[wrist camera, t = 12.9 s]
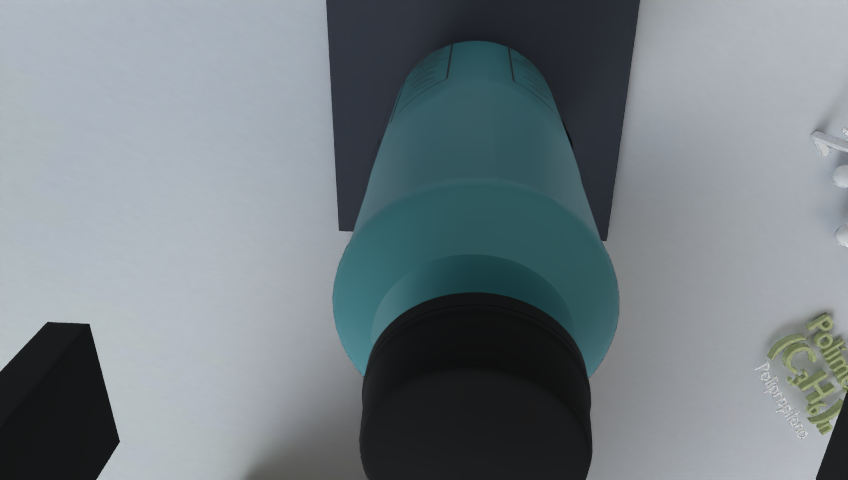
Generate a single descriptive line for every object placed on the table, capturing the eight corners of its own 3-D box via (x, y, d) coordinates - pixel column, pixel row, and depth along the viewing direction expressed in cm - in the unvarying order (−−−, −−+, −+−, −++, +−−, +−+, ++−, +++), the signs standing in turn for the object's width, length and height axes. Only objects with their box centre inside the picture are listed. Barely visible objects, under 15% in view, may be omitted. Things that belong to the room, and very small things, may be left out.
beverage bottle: (377, 48, 28) (201, 340, 11) (543, 6, 27) (657, 257, 9) (418, 194, 31) (334, 620, 13) (570, 162, 30) (698, 583, 12)
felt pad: (325, -55, 27) (323, -54, 27) (645, -51, 26) (647, -50, 26) (340, 227, 33) (338, 231, 32) (605, 237, 32) (606, 241, 32)
